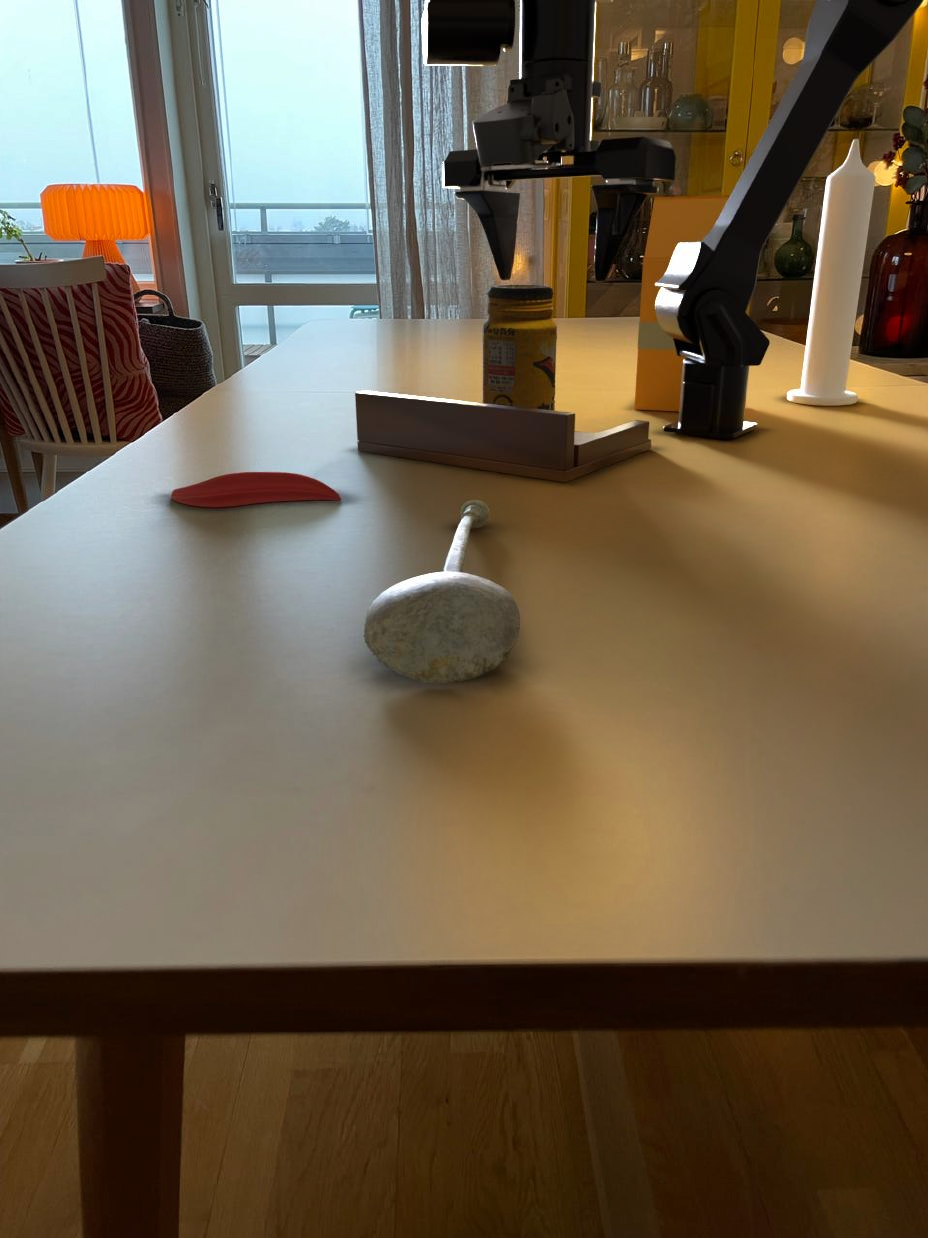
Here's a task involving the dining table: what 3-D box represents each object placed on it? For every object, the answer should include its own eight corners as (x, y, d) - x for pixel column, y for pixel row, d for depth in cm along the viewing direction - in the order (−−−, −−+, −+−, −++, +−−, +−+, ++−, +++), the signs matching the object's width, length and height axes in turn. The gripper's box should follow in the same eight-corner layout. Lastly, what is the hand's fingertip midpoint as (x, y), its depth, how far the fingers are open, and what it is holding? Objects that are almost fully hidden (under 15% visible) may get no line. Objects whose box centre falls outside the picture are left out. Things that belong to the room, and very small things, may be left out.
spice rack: (457, 425, 88) (456, 373, 87) (651, 449, 77) (654, 390, 76) (357, 450, 78) (354, 392, 76) (565, 482, 67) (567, 414, 65)
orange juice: (721, 413, 93) (742, 192, 85) (633, 409, 96) (645, 195, 88) (729, 401, 100) (749, 196, 92) (646, 398, 103) (659, 198, 95)
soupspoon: (348, 695, 37) (513, 708, 37) (347, 618, 36) (518, 630, 35) (423, 522, 57) (530, 529, 57) (424, 468, 56) (534, 474, 55)
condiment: (575, 438, 78) (581, 285, 74) (492, 450, 74) (492, 289, 69) (523, 425, 84) (525, 282, 79) (443, 436, 79) (440, 286, 75)
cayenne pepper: (154, 504, 62) (150, 476, 62) (187, 487, 67) (184, 461, 66) (325, 512, 60) (323, 483, 59) (348, 494, 64) (346, 467, 64)
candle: (867, 405, 97) (908, 134, 87) (798, 406, 97) (832, 135, 87) (842, 395, 103) (878, 141, 94) (778, 395, 103) (807, 142, 94)
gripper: (396, 65, 71) (403, 282, 77) (615, 33, 61) (604, 286, 67) (480, 83, 80) (481, 278, 86) (686, 57, 69) (670, 281, 75)
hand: (551, 280), depth 78 cm, fingers open, 9 cm apart
